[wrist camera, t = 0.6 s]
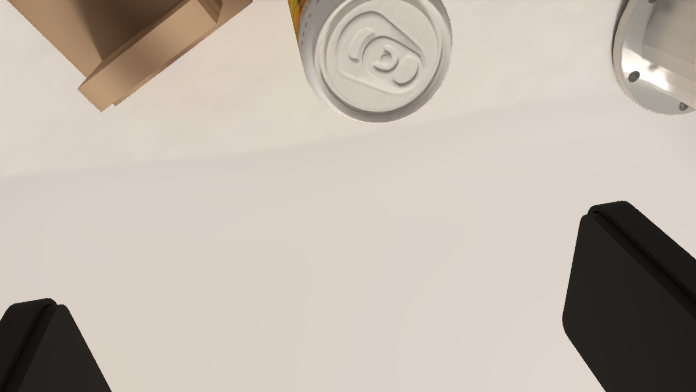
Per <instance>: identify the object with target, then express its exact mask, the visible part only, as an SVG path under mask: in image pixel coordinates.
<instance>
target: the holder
mask: <svg viewBox="0 0 696 392" xmlns="http://www.w3.org/2000/svg"><path fill="white" fill-rule="evenodd" d="M8 1H9V2H10V3H11V4H12V5H13V6H14V7H15V8H16V9H17V10H18V11H19V12H20V13H21V14H22V15H23V16H24V17H25V18H26V19H27V20H28V21H29V22H30V23H31V24H32V25H33V26H34V27H35V28H36V29H37V30H38V31H39V32H40V33H41V34H42V35H43V36H44V37H45V38H47V39H48V40H49V41H50V42H51V43H52V44H53V45H54V46H55V47H56V48H57V49H58V50H59V51H60V52H61V53H62V54H63V55H64V56H65V57H66V58H67V59H68V60H69V61H70V62H71V63H72V64H73V65H74V66H75V67H76V68H77V69H78V70H79V71H80V72H81V73H82V74H83V75H84V76H85V77H86V78H87V79H86V80H85V81H84V82H83V83H82V84H81V85H80V87H79V88H78V90H79V91H80V92H81V93H82V94H83V95H84V96H85V97H86V98H87V99H88V100H89V101H90V102H91V103H92V104H93V105H94V106H95V107H96V108H97V109H98V110H100V111H101V112H102V111H103V110H105V109H106V108H107V107H109V106H110V105H111V104H114V105H115V106H117V105H118V104H119V103H121V102H122V101H123V100H125V99H126V98H127V97H128V96H130V95H131V94H132V93H134V92H135V91H136V90H138V89H139V88H140V87H142V86H143V85H144V84H146V83H147V82H148V81H150V80H151V79H152V78H153V77H155V76H156V75H157V74H159V73H160V72H161V71H163V70H164V69H165V68H167V67H168V66H169V65H171V64H172V63H173V62H174V61H176V60H177V59H178V58H180V57H181V56H182V55H184V54H185V53H186V52H188V51H189V50H190V49H192V48H193V47H194V46H196V45H197V44H198V43H199V42H201V41H202V40H203V39H205V38H206V37H207V36H209V35H210V34H211V33H213V32H214V31H215V30H217V29H218V28H219V27H221V26H222V25H223V24H224V23H226V22H227V21H228V20H230V19H231V18H232V17H234V16H235V15H236V14H238V13H239V12H240V11H242V10H243V9H244V8H245V7H247V6H248V5H249V4H251V3H252V0H8Z"/></svg>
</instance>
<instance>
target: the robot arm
mask: <svg viewBox="0 0 696 392" xmlns="http://www.w3.org/2000/svg"><path fill="white" fill-rule="evenodd" d="M613 63H614V71H615V74H616V78H617V81H618V83H619V85H620V87H621V88H622V90H623V92H624V93H625V94H626V95H627V96H628V97H629V98H630V99H631V100H632V101H633V102H635V103H637V104H638V105H640V106H641V107H643V108H644V109H647V110H649V111H652V112H654V113H658V114H665V115H681V114H686V113H690V112H694V111H696V0H629V2H628V4H627V6H626V8H625V10H624V13H623V15H622V17H621V19H620V22H619V25H618V29H617V32H616V35H615V41H614V49H613ZM562 322H563V327H564V330H565V333H566V335H567V336H568V338H569V339H570V341H571V342H572V344H573V345H574V347H575V348H576V349H577V351H578V352H579V354H580V355H581V357H582V358H583V360H584V361H585V362H586V364H587V365H588V367H589V368H590V369H591V371H592V373H593V374H594V375H595V377H596V378H597V380H598V381H599V383H600V384H601V386H602V387H603V389H604V390H605V391H606V392H696V259H695V258H694V257H692V256H691V255H690V254H689V253H688V252H687V251H685V250H684V249H683V248H682V247H680V246H679V245H678V244H677V243H676V242H675V241H674V240H672V239H671V238H670V237H669V236H668V235H666V234H665V233H664V232H663V231H662V230H661V229H660V228H658V227H657V226H656V225H655V224H654V223H652V222H651V221H650V220H649V219H648V218H647V217H646V216H644V215H643V214H642V213H641V212H639V211H638V210H637V209H636V208H635V207H634V206H633V205H631V204H630V203H628V202H627V201H617V202H612V203H605V204H600V205H594V206H592V207H591V208H590V209H589V211H588V214H587V215H584V216H583V217H582V218H581V221H580V225H579V230H578V236H577V241H576V246H575V252H574V257H573V262H572V268H571V273H570V278H569V284H568V289H567V294H566V300H565V306H564V311H563V316H562ZM0 392H112V391H111V390H110V388H109V386H108V384H107V382H106V380H105V378H104V376H103V374H102V373H101V370H100V369H99V367H98V365H97V363H96V361H95V359H94V357H93V355H92V353H91V351H90V349H89V348H88V346H87V344H86V342H85V340H84V338H83V336H82V334H81V332H80V330H79V329H78V327H77V325H76V323H75V321H74V319H73V317H72V315H71V314H70V311H69V310H68V308H67V307H66V306H65V305H57V304H56V302H55V301H54V300H52V299H51V298H45V299H39V300H33V301H28V302H22V303H15V304H13V305H11V306H10V307H9V308H8V309H7V310H6V312H5V314H4V315H3V317H2V319H1V320H0Z"/></svg>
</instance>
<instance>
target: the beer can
mask: <svg viewBox="0 0 696 392" xmlns="http://www.w3.org/2000/svg"><path fill="white" fill-rule="evenodd" d="M288 4H289V8H290V12H291V17H292V21H293V25H294V30H295V34H296V38H297V43H298V47H299V51H300V56H301V60H302V64H303V68H304V72H305V75H306V78H307V80H308V83H309V85H310V86H311V88H312V90H313V91H314V93H315V94H316V96H317V97H318V98H319V99H320V100H321V101H322V102H323V103H324V104H325V105H326V106H327V107H328V108H330V109H331V110H333V111H334V112H335V113H337V114H339V115H341V116H343V117H346V118H349V119H352V120H356V121H360V122H364V123H371V124H384V123H391V122H395V121H399V120H402V119H404V118H406V117H409V116H410V115H412V114H414V113H416V112H417V111H419V110H420V109H421V108H423V107H424V106H425V105H426V104H427V103H428V102H429V101H430V100H431V99H432V98H433V97H434V96H435V94H436V93H437V92H438V90H439V89H440V87H441V85H442V83H443V81H444V79H445V77H446V74H447V72H448V68H449V64H450V58H451V50H452V30H451V24H450V19H449V16H448V14H447V11H446V9H445V7H444V5H443V3H442V1H441V0H288Z"/></svg>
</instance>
